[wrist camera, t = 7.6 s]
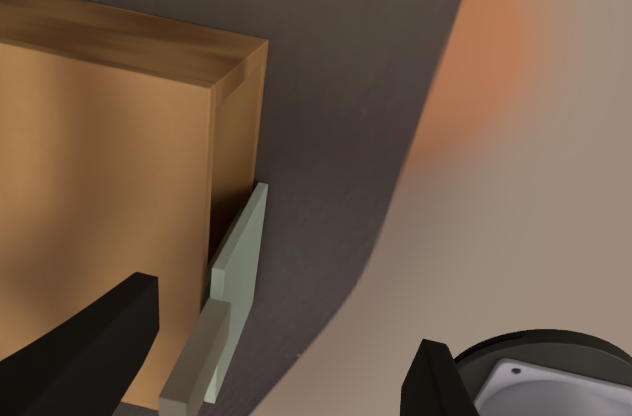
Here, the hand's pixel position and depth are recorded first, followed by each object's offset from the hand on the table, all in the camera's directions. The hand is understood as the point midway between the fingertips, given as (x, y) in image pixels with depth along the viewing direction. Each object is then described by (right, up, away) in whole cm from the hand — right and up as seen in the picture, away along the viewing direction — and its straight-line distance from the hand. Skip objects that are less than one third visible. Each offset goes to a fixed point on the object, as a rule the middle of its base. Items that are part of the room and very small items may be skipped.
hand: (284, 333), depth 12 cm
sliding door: (-2, +1, +12) cm, 12 cm away
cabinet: (-7, +5, +11) cm, 14 cm away
